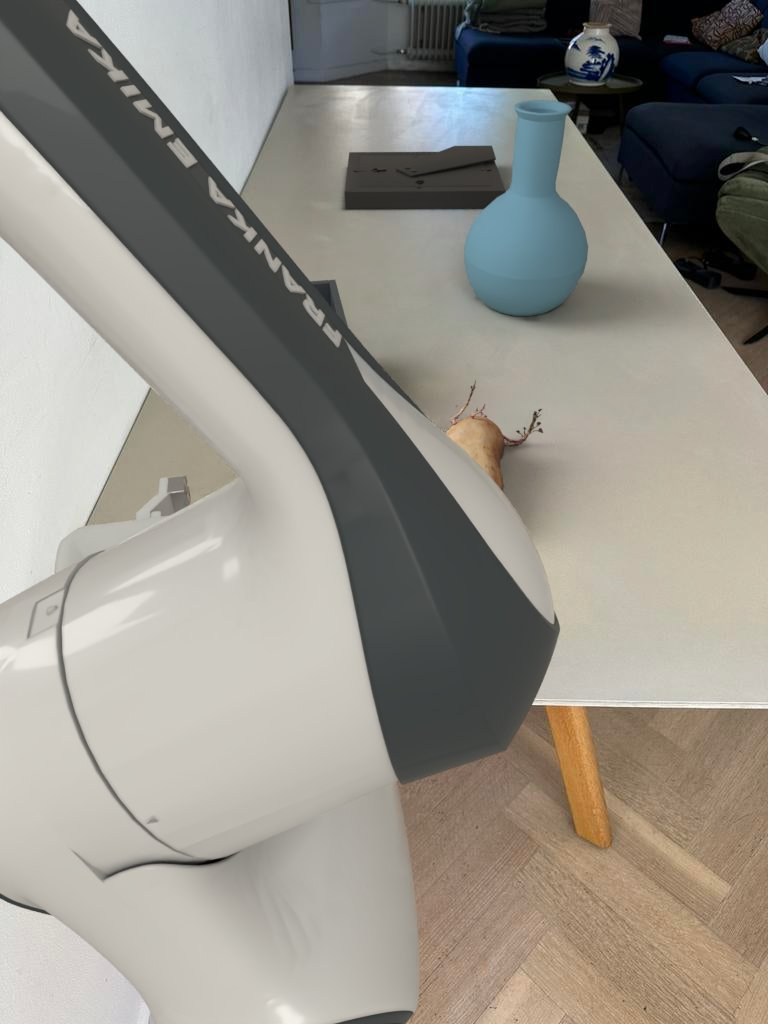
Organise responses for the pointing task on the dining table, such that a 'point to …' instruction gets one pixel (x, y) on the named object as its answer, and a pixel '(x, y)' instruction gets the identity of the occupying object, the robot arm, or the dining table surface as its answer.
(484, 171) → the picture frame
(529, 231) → the vase
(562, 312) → the dining table surface
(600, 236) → the dining table surface
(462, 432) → the vegetable
